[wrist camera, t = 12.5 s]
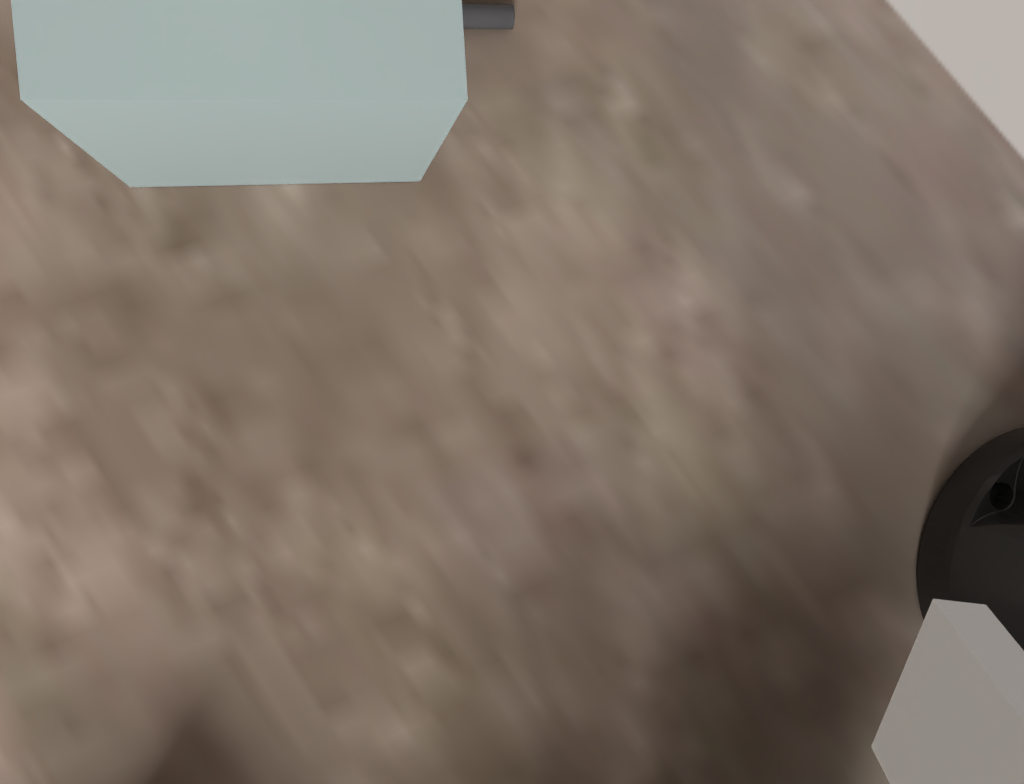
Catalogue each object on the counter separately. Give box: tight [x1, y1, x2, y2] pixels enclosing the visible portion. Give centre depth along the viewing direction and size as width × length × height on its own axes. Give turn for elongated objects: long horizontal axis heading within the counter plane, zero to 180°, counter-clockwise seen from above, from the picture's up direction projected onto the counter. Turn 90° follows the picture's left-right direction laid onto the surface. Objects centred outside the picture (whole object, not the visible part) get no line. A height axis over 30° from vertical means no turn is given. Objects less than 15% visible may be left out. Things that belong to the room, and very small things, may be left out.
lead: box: [462, 3, 515, 29], centre depth 36 cm, size 17×1×1 cm, turn 93°
